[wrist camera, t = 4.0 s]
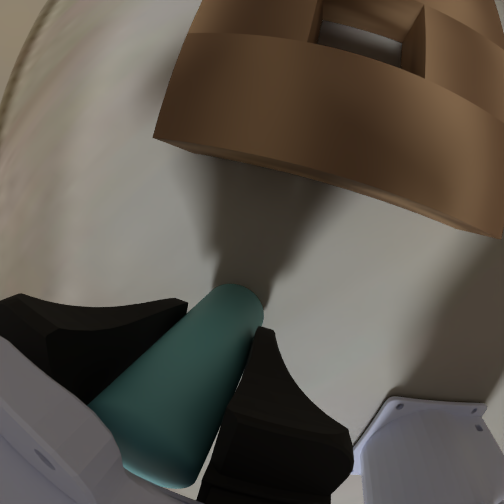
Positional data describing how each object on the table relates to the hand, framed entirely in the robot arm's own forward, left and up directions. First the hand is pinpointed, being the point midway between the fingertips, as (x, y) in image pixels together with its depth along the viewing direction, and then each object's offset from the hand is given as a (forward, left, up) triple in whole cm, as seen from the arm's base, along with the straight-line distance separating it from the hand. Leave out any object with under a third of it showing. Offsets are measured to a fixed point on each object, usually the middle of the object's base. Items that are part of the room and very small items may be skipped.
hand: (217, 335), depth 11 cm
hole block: (-3, -14, -3) cm, 15 cm away
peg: (0, 0, -2) cm, 2 cm away
